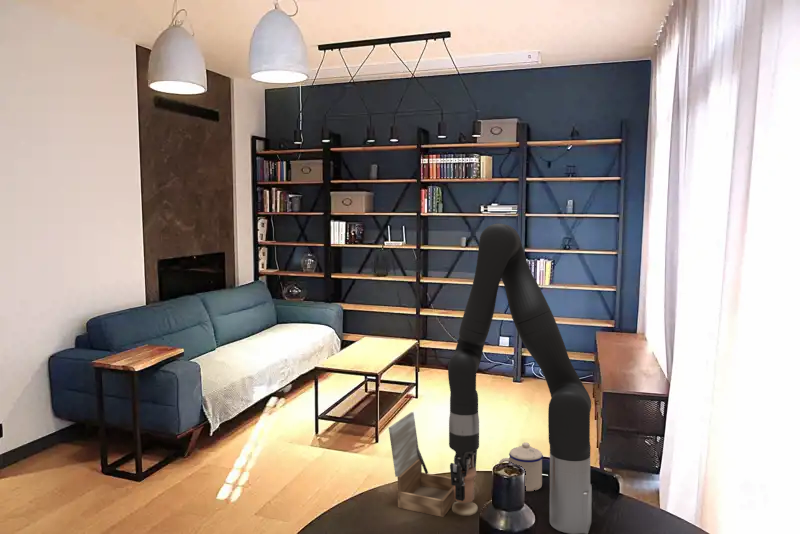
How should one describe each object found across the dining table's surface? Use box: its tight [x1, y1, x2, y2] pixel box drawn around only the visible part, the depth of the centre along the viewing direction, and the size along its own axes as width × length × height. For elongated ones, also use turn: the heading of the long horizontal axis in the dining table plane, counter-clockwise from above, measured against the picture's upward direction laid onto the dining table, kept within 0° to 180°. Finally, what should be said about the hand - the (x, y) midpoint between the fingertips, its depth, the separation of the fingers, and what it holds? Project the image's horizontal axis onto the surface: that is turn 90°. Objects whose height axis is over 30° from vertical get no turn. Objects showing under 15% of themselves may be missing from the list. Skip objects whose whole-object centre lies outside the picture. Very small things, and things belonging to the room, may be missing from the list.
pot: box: [453, 467, 477, 503], centre depth 147 cm, size 6×6×7 cm
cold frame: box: [388, 411, 457, 518], centre depth 152 cm, size 15×14×20 cm
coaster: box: [451, 501, 478, 517], centre depth 147 cm, size 6×6×1 cm
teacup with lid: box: [498, 442, 544, 492], centre depth 161 cm, size 12×9×12 cm
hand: (464, 494), depth 147 cm, fingers closed on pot, 5 cm apart
